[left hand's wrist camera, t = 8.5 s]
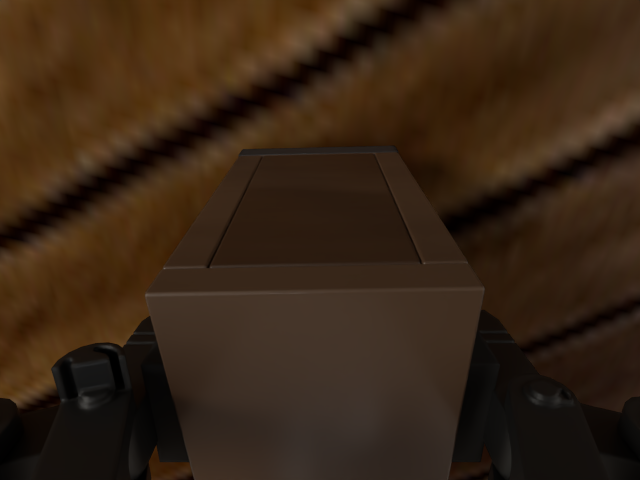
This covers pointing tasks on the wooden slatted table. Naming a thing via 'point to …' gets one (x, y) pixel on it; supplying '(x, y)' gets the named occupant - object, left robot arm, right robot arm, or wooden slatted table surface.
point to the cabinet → (317, 322)
